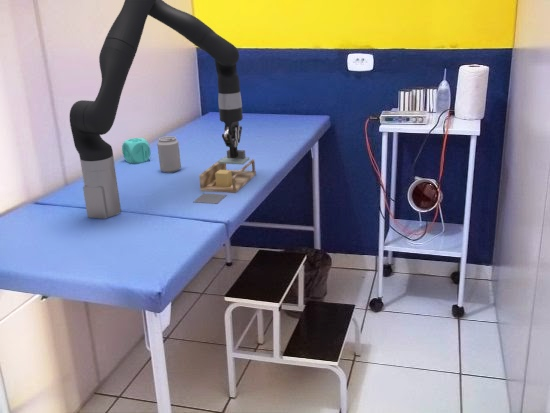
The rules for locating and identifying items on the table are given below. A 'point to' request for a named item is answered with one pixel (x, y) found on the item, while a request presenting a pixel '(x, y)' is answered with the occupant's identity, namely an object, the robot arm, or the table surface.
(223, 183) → the block
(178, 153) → the can
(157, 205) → the table surface
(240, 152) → the lid
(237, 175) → the wooden rack
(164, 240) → the table surface
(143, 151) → the decorative dice
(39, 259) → the table surface
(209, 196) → the mat
